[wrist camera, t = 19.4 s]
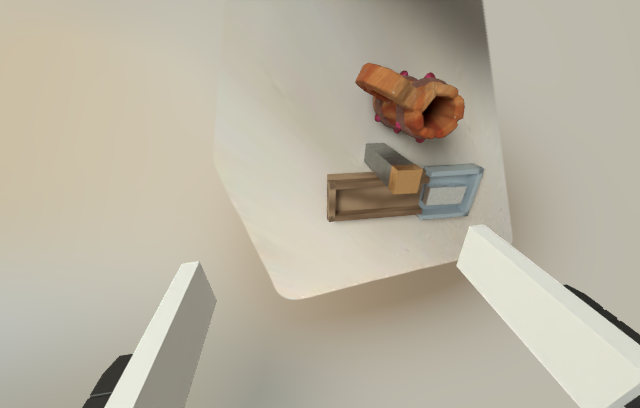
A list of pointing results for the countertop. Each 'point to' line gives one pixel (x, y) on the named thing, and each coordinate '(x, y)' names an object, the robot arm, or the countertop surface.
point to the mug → (412, 102)
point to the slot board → (368, 197)
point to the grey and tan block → (393, 168)
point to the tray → (452, 173)
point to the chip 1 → (434, 193)
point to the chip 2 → (454, 192)
